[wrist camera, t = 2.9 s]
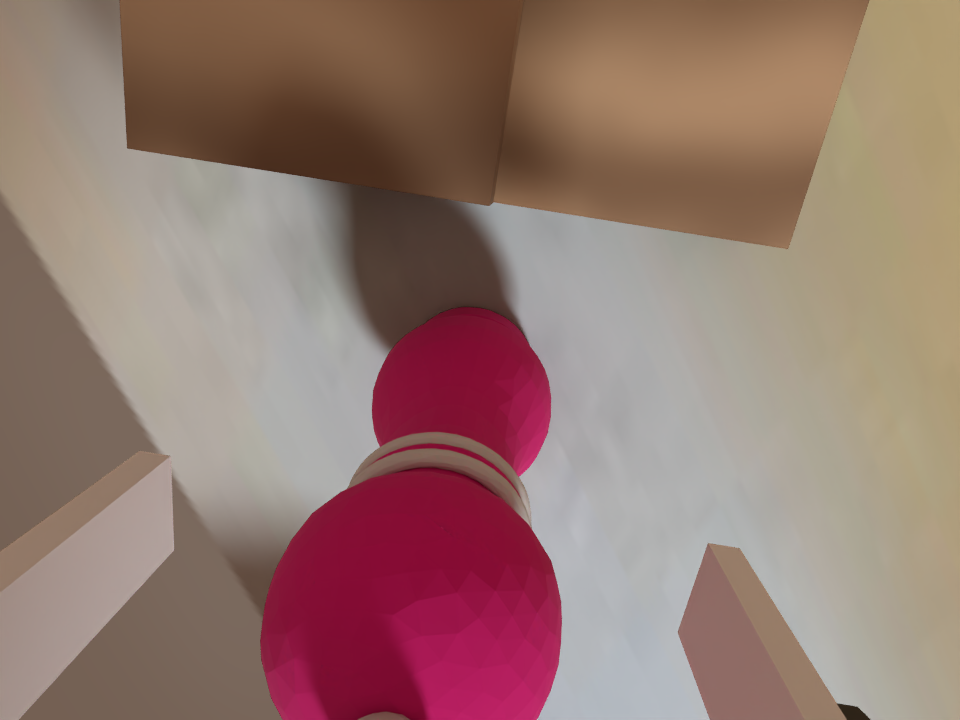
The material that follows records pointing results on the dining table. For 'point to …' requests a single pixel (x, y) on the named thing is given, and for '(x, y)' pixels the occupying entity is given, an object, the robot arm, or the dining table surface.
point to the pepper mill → (427, 547)
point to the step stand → (507, 99)
